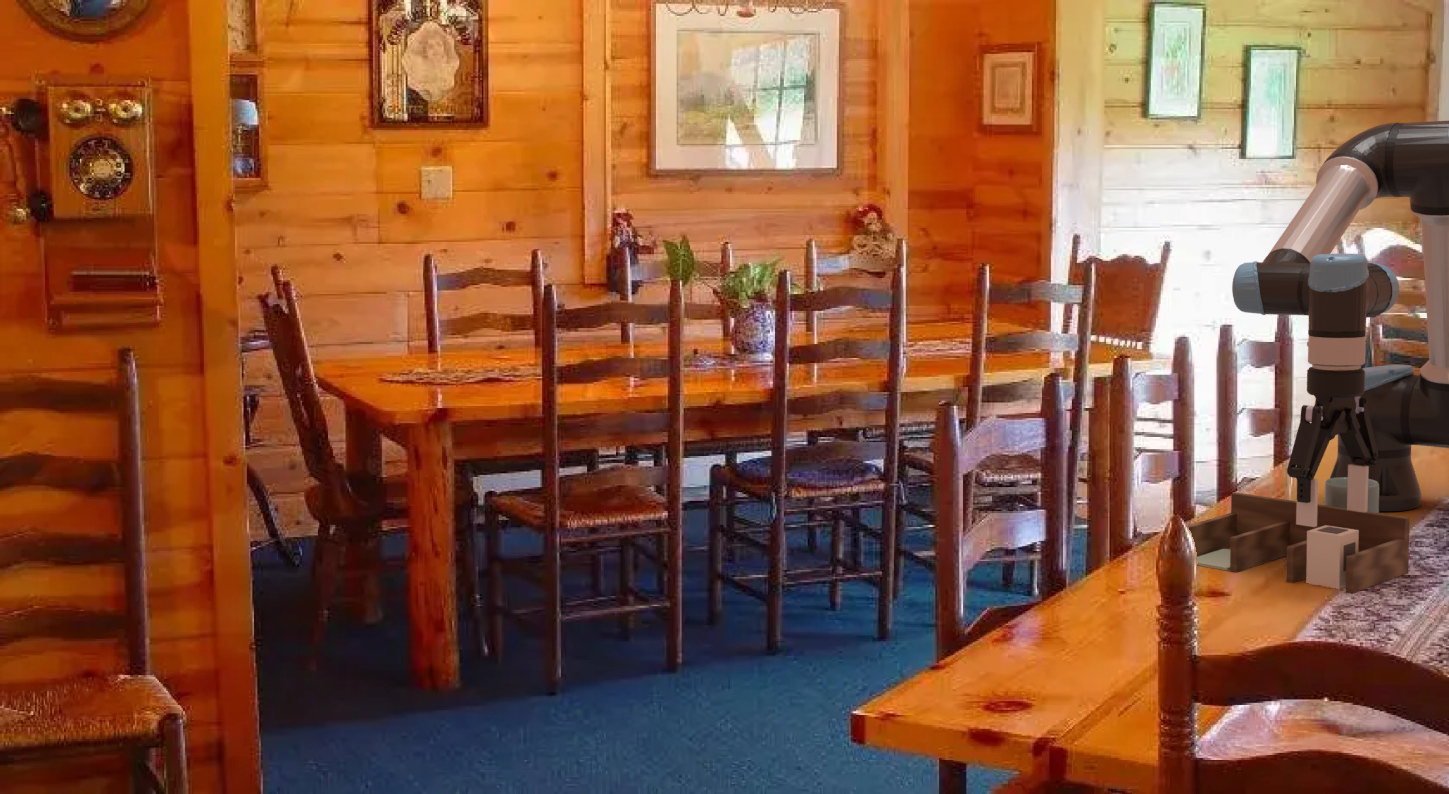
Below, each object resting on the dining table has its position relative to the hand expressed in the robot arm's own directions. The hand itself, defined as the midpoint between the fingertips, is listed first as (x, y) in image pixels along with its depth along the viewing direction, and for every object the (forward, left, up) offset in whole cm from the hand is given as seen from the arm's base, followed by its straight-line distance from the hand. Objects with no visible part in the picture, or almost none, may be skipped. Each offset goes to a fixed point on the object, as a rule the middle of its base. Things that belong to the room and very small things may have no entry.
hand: (1332, 518), depth 244 cm
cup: (-22, -9, -10) cm, 25 cm away
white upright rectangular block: (0, 0, -9) cm, 9 cm away
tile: (-2, -18, -9) cm, 20 cm away
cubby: (-5, -9, -9) cm, 14 cm away
